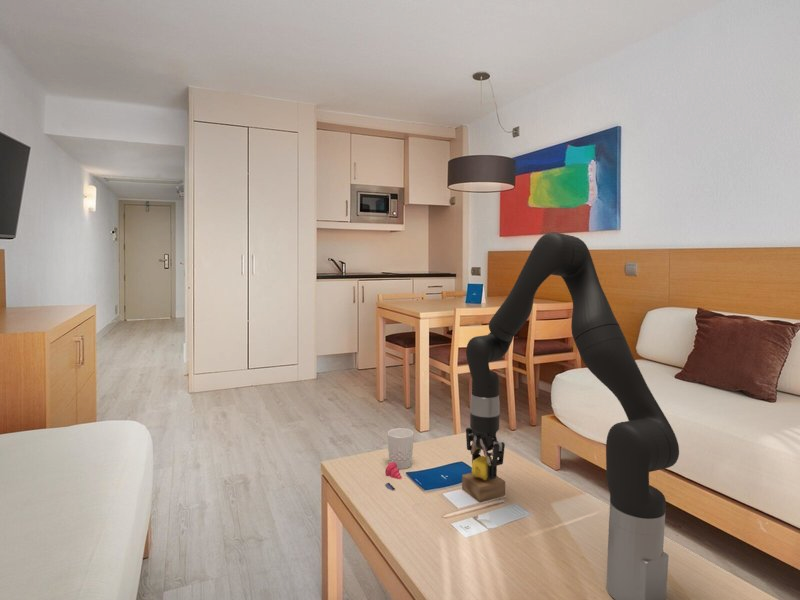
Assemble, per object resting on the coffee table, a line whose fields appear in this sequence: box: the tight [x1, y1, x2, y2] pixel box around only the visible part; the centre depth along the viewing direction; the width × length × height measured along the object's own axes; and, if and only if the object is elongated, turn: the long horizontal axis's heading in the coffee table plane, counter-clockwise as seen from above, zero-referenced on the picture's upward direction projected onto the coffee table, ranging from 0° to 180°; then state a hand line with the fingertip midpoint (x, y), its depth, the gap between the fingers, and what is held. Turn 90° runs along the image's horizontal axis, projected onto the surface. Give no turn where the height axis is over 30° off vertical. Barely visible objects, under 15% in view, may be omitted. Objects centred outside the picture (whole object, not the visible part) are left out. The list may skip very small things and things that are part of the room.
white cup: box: [387, 427, 415, 470], centre depth 147 cm, size 8×8×10 cm
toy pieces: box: [384, 462, 402, 491], centre depth 135 cm, size 12×11×4 cm
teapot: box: [471, 455, 493, 480], centre depth 127 cm, size 8×6×5 cm
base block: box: [461, 472, 506, 504], centre depth 128 cm, size 8×8×4 cm
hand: (483, 473), depth 127 cm, fingers closed on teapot, 6 cm apart
